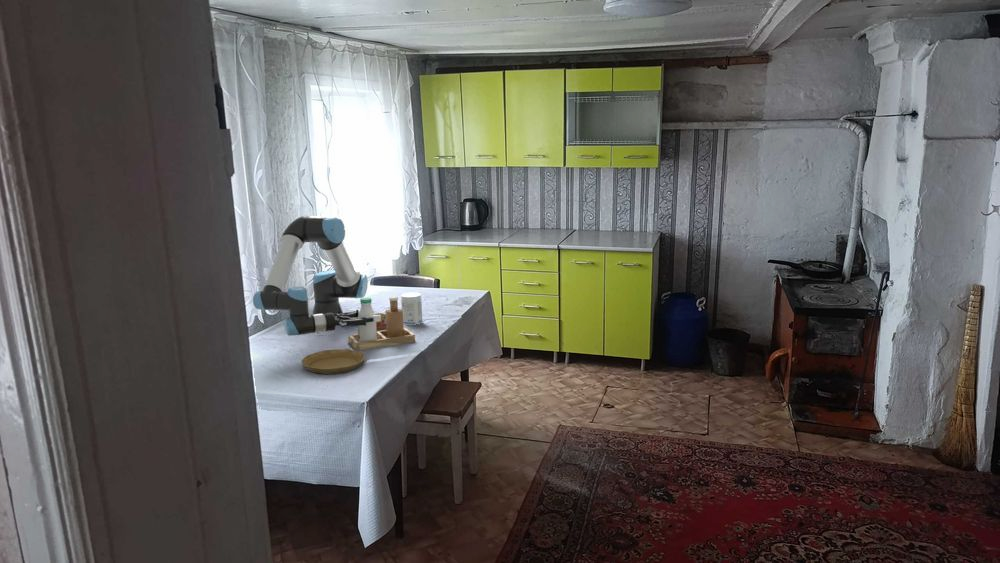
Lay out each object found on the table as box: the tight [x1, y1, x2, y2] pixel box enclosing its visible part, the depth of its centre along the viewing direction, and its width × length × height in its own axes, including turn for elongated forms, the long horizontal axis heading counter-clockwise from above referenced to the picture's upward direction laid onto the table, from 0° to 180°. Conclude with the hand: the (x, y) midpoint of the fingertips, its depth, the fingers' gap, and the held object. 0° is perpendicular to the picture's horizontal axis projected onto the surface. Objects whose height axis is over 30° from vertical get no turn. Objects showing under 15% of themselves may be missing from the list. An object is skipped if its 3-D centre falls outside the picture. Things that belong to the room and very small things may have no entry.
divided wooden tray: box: [348, 326, 416, 351], centre depth 290 cm, size 13×26×4 cm, turn 117°
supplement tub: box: [400, 292, 423, 326], centre depth 319 cm, size 10×10×15 cm
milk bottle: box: [357, 297, 378, 342], centre depth 285 cm, size 8×8×20 cm
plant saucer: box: [301, 348, 366, 375], centre depth 264 cm, size 24×24×3 cm
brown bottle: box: [384, 296, 405, 338], centre depth 291 cm, size 8×8×19 cm
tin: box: [375, 312, 386, 331], centre depth 308 cm, size 15×3×8 cm, turn 129°
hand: (377, 315), depth 287 cm, fingers open, 9 cm apart
